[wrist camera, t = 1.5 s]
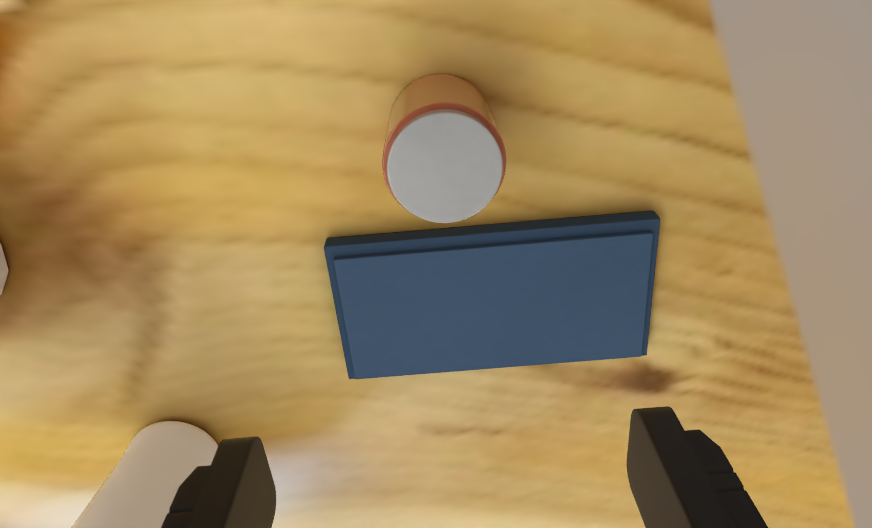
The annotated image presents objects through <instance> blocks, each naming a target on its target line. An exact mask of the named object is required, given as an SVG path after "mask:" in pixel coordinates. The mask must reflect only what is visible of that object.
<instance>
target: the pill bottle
mask: <svg viewBox="0 0 872 528" xmlns="http://www.w3.org/2000/svg"><path fill="white" fill-rule="evenodd" d="M382 166H383V174H384V178H385V181H386V184H387V186H388V188H389V190H390V192H391V194H392V195H393V197H394V198H395V199H396V200H397V202H398V203H399V204H400V205H401V206H403V207H404V208H405V209H406V210H408V211H409V212H410V213H412V214H413V215H415V216H417V217H419V218H421V219H424V220H427V221H431V222H436V223H452V222H457V221H461V220H464V219H467V218H469V217H471V216H473V215H475V214H477V213H478V212H479V211H481V210H482V209H483V208H484V207H485V206H486V205H487V204H488V203H489V202H490V201H491V200H492V199H493V197H494V196H495V195H496V193H497V192H498V190H499V188H500V186H501V184H502V181H503V178H504V175H505V170H506V152H505V148H504V144H503V141H502V139H501V136H500V134H499V131H498V129H497V126H496V124H495V122H494V119H493V117H492V114H491V112H490V110H489V107H488V105H487V103H486V101H485V99H484V97H483V96H482V95H481V93H480V92H479V91H478V90H477V89H476V88H475V87H474V86H473V85H472V84H470V83H469V82H467V81H465V80H464V79H461V78H459V77H456V76H452V75H447V74H435V75H429V76H425V77H422V78H420V79H418V80H416V81H414V82H413V83H411V84H410V85H408V86H407V87H406V88H405V89H404V90H403V91H402V92H401V93H400V95H399V96H398V97H397V99H396V101H395V103H394V105H393V107H392V110H391V113H390V118H389V124H388V129H387V134H386V140H385V145H384V151H383V159H382Z"/></svg>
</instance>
